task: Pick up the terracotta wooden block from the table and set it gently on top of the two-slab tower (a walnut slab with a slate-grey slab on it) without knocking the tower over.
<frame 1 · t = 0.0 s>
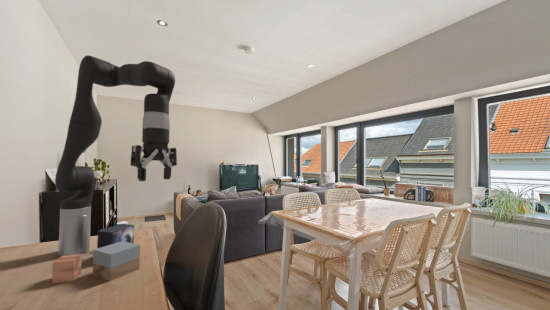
hand: (155, 180, 73), 29 cm above the table, tool pointing down, fingers open, 8 cm apart
supplement bottle: (121, 246, 97), on the table
terracotta block: (67, 278, 70), on the table
tower base: (116, 272, 75), on the table, touching tower top
small box: (116, 256, 88), on the table
tower top: (116, 259, 75), point 4 cm above the table, touching tower base
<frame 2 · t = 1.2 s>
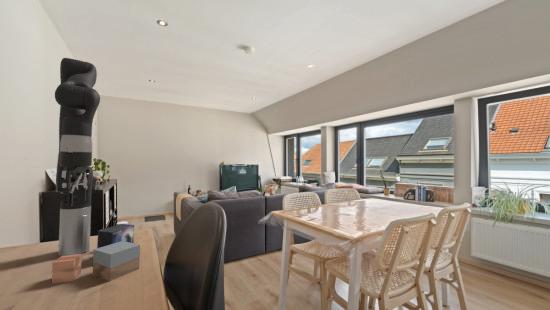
hand: (74, 203, 71), 22 cm above the table, tool pointing down, fingers open, 8 cm apart
nothing on the table moved.
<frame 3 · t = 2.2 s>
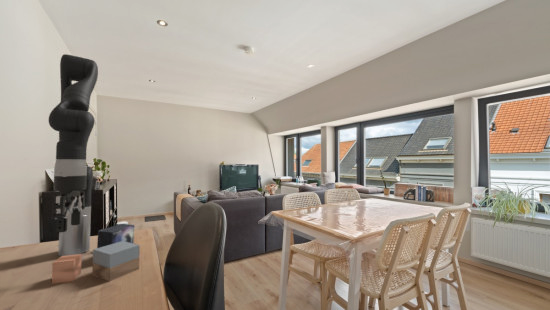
hand: (69, 228, 71), 15 cm above the table, tool pointing down, fingers open, 8 cm apart
nothing on the table moved.
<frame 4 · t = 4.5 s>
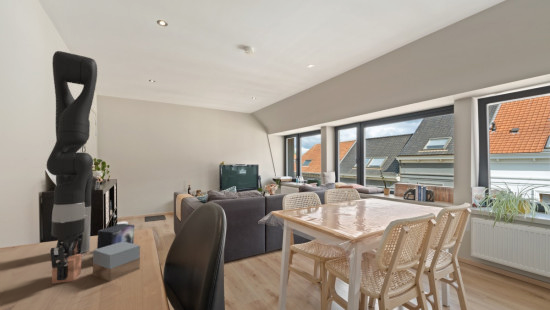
hand: (66, 274, 70), 1 cm above the table, tool pointing down, fingers closed on terracotta block, 5 cm apart
terracotta block: (66, 278, 70), on the table, touching gripper
tower base: (116, 273, 74), on the table
tower top: (116, 260, 74), point 4 cm above the table
everything else where it was.
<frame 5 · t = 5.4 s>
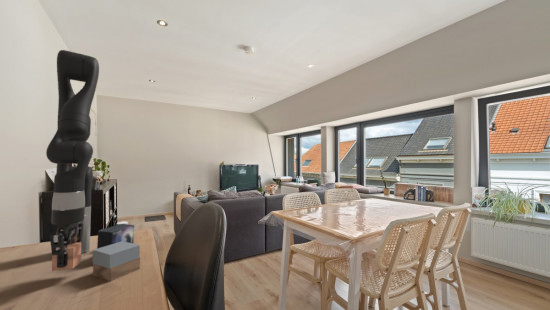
hand: (66, 262, 71), 4 cm above the table, tool pointing down, fingers closed on terracotta block, 5 cm apart
terracotta block: (66, 266, 71), point 3 cm above the table, touching gripper
tower base: (116, 272, 74), on the table, touching tower top
tower top: (116, 260, 74), point 4 cm above the table, touching tower base
everything else where it was.
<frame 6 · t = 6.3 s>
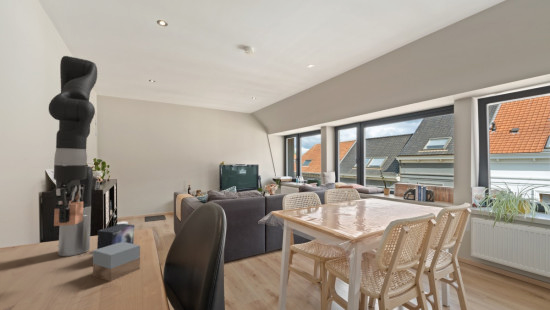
hand: (68, 219, 71), 17 cm above the table, tool pointing down, fingers closed on terracotta block, 5 cm apart
terracotta block: (68, 223, 71), point 16 cm above the table, touching gripper
everything else where it was.
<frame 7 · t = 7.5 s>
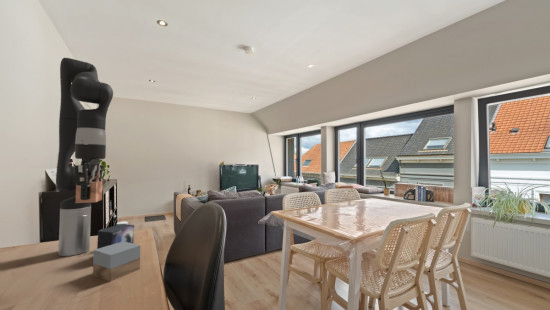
hand: (89, 198, 73), 24 cm above the table, tool pointing down, fingers closed on terracotta block, 5 cm apart
terracotta block: (89, 201, 73), point 23 cm above the table, touching gripper
everything else where it was.
when the fingers open (10 cm above the table, at t = 12.0 s): terracotta block drops 1 cm, resting on tower top.
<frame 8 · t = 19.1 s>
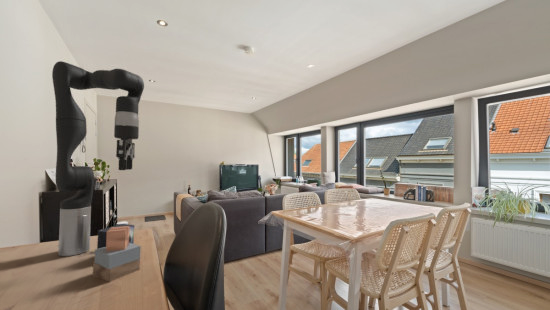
hand: (125, 169, 85), 32 cm above the table, tool pointing down, fingers open, 8 cm apart
terracotta block: (118, 247, 74), point 8 cm above the table, touching tower top
tower top: (117, 260, 74), point 4 cm above the table, touching terracotta block, tower base
everything else where it was.
at the end: terracotta block 0.1 cm off-centre on the tower top, point 4.0 cm above the tower top's base; terracotta block tilted 0°; tower top 0.2 cm off-centre on the tower base, point 4.0 cm above the tower base's base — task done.
